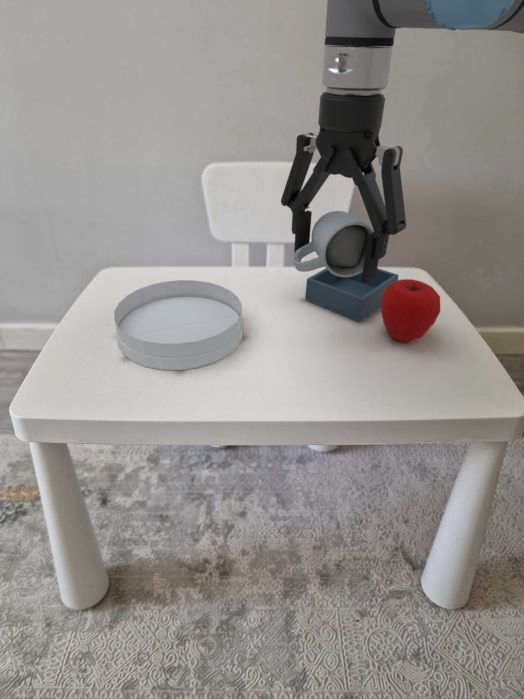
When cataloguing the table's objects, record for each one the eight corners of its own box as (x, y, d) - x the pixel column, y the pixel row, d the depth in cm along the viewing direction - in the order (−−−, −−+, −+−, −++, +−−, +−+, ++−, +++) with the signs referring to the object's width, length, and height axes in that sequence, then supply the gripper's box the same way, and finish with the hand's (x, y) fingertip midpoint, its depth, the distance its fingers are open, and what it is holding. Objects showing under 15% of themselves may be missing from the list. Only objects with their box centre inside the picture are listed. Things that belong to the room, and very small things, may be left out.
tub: (394, 296, 94) (398, 274, 91) (359, 322, 85) (363, 300, 82) (342, 277, 101) (345, 257, 98) (305, 300, 92) (306, 278, 89)
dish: (262, 353, 76) (263, 328, 73) (128, 383, 69) (123, 357, 66) (220, 294, 93) (219, 272, 90) (109, 314, 86) (104, 290, 83)
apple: (442, 344, 79) (459, 289, 73) (397, 356, 76) (410, 299, 70) (407, 317, 87) (419, 265, 81) (364, 327, 84) (374, 273, 78)
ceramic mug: (352, 252, 70) (358, 202, 66) (374, 275, 63) (382, 221, 59) (285, 258, 68) (287, 207, 64) (300, 282, 62) (303, 227, 57)
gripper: (256, 85, 56) (255, 253, 69) (436, 103, 44) (395, 302, 57) (292, 82, 61) (285, 239, 74) (464, 97, 49) (420, 282, 61)
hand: (333, 267), depth 65 cm, fingers closed on ceramic mug, 11 cm apart
